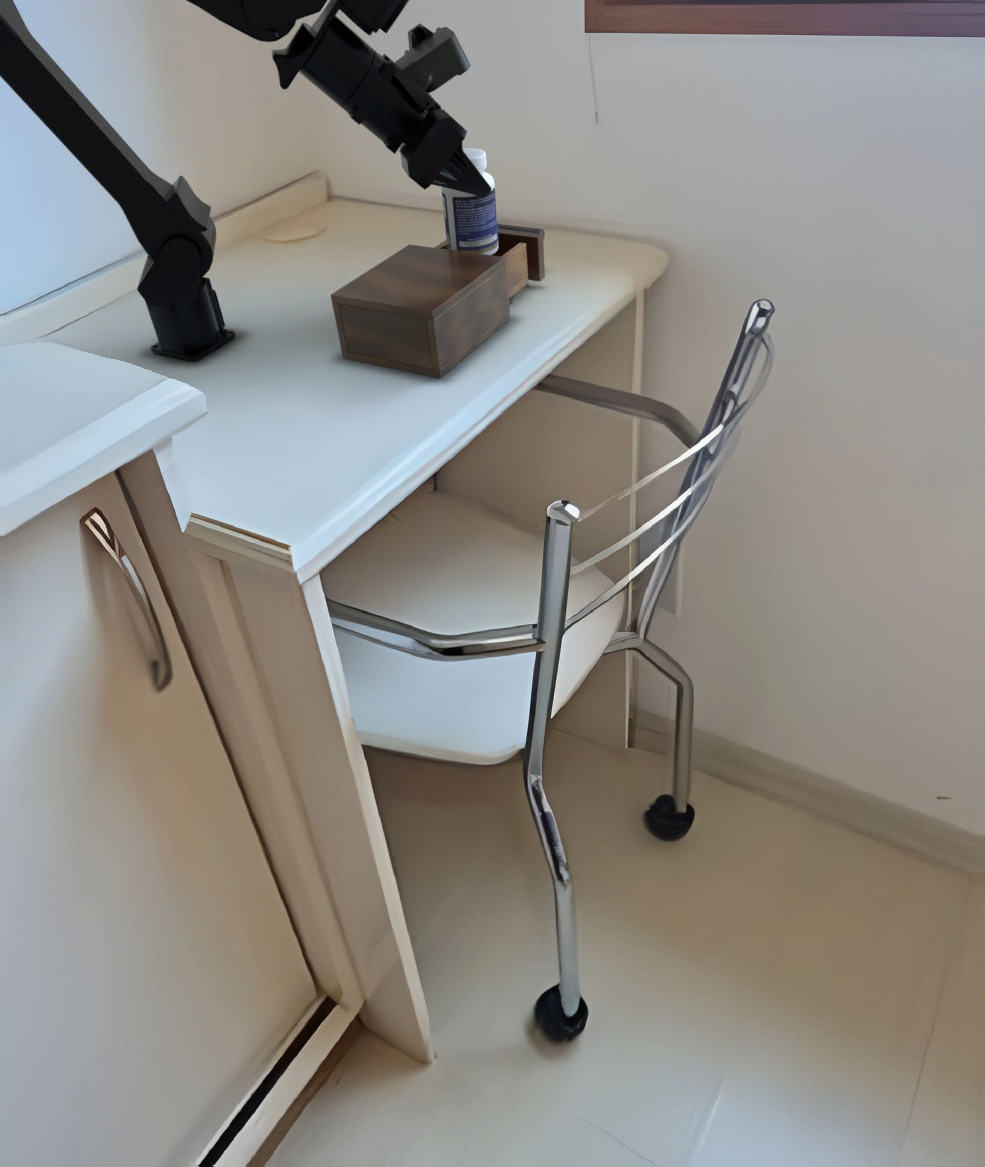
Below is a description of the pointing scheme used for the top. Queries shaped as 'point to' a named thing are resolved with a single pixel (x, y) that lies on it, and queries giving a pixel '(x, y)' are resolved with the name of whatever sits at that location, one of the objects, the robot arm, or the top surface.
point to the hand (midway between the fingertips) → (481, 185)
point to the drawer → (519, 254)
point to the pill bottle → (471, 214)
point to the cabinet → (422, 309)
